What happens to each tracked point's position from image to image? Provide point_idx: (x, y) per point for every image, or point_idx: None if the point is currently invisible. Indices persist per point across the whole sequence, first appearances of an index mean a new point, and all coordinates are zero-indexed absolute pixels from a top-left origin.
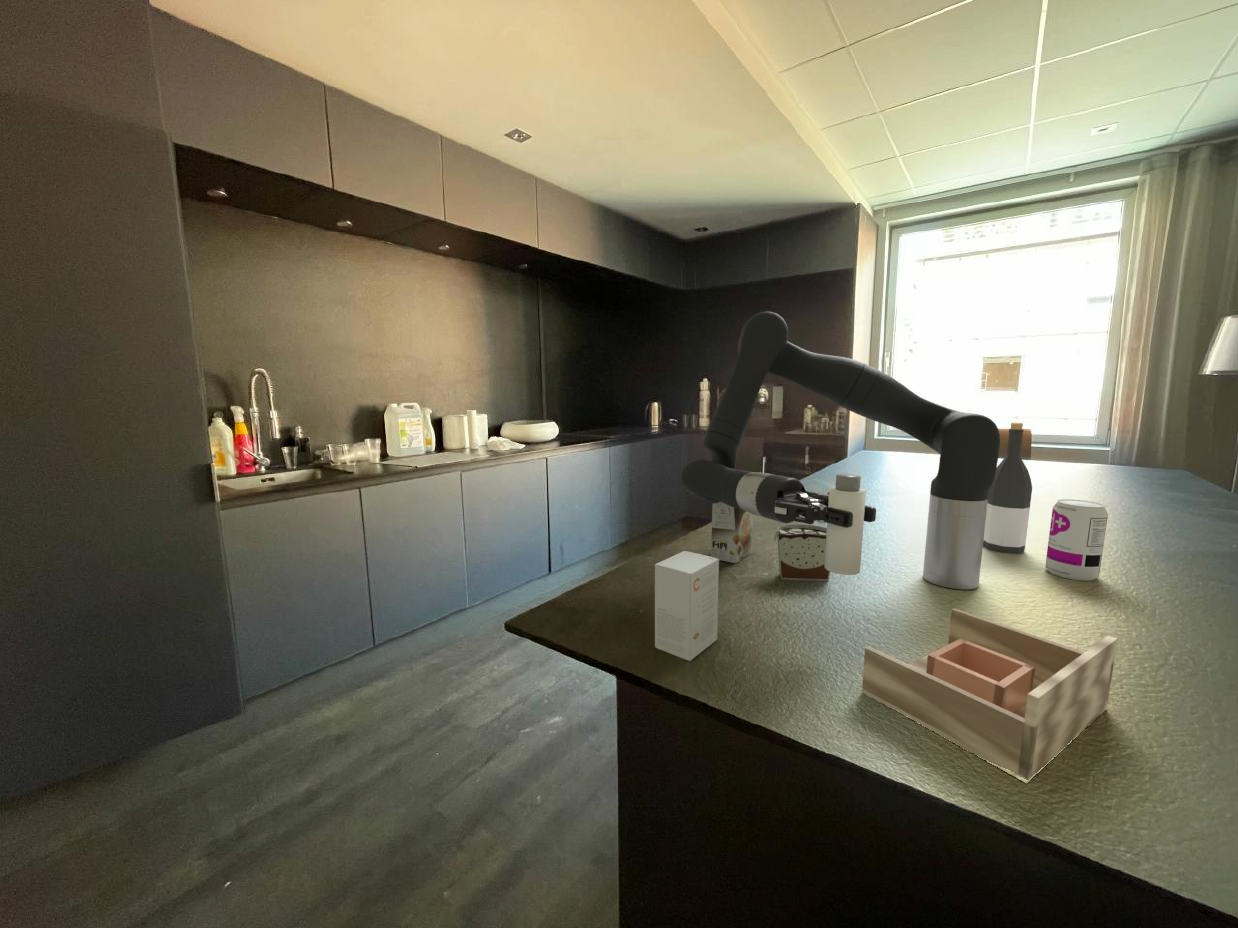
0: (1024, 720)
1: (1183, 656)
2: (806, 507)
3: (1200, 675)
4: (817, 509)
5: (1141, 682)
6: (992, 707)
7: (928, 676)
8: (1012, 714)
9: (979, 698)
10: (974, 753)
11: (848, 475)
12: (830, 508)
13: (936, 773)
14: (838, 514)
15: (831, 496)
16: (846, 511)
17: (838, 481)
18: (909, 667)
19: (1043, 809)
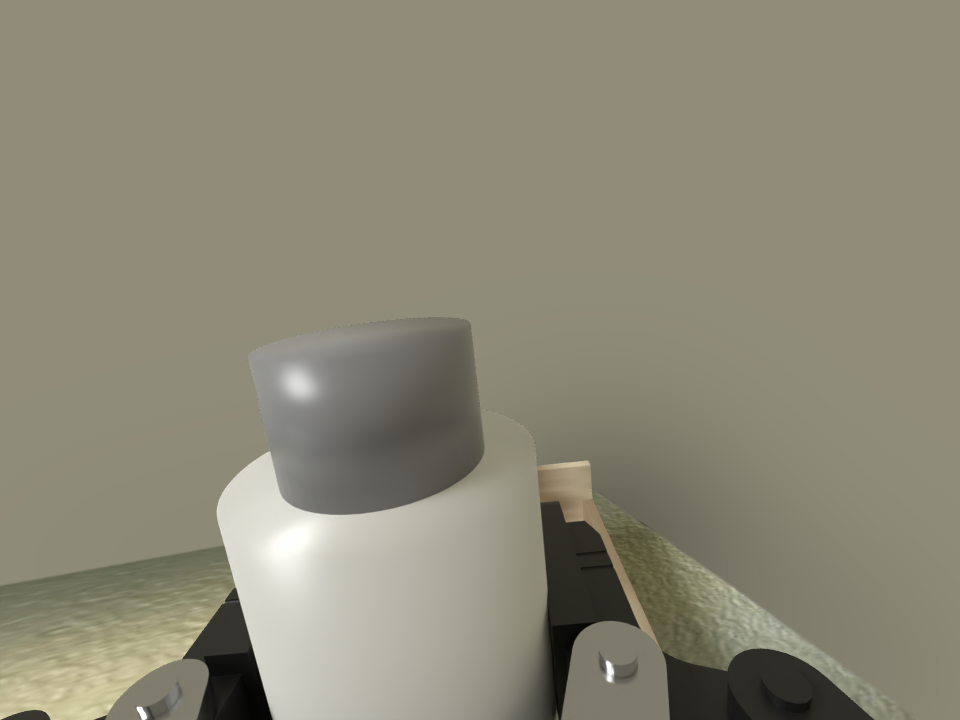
0: (591, 496)
1: (81, 595)
2: (847, 701)
3: (153, 571)
4: (671, 705)
5: (222, 589)
6: (599, 518)
7: (622, 577)
8: (589, 507)
9: (597, 529)
10: None
11: (342, 340)
12: (587, 591)
13: (690, 595)
14: (601, 539)
15: (536, 530)
16: (547, 512)
17: (472, 380)
18: (635, 601)
19: (611, 539)
